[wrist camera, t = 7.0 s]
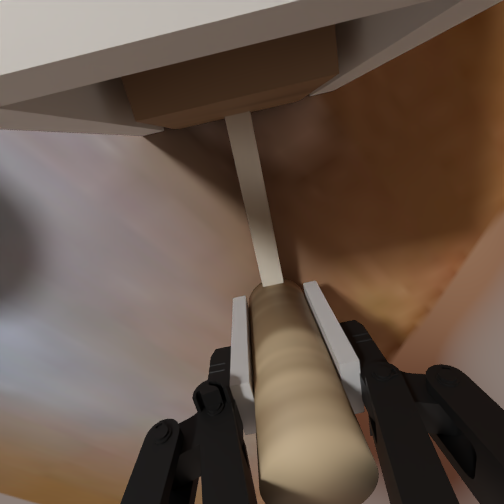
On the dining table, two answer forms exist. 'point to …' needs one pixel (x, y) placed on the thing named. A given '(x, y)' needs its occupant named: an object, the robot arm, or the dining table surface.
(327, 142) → the dining table surface
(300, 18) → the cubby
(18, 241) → the dining table surface
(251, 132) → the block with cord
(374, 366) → the robot arm
